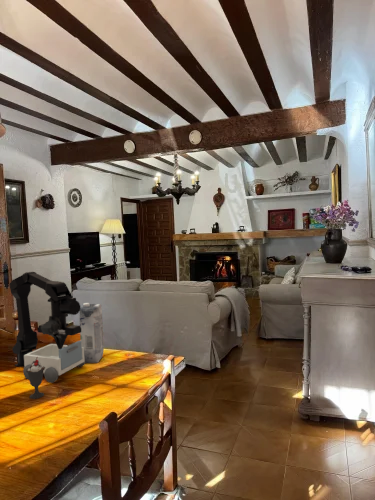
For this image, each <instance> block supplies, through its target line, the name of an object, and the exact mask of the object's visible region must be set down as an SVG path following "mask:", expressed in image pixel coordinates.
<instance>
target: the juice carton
mask: <svg viewBox="0 0 375 500" xmlns="http://www.w3.org/2000/svg"><path fill="white" fill-rule="evenodd" d="M82 305H83V306H82V307H80V311H79V326H80V327H81V332H80V333H79V335H80V338H79V339H80V341H81V346H82V347H84V357H85V364H98V363H99V362H100V360H101V359H102V358H103V355H104V330H103V329H104V326H103V311H102V310H103V309H102V303H90V302H84V303H83V304H82Z"/></svg>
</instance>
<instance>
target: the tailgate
mask: <svg viewBox="0 0 375 500" xmlns="http://www.w3.org/2000/svg"><path fill="white" fill-rule="evenodd" d="M59 358H61V370H62V369H64V368H66V367H68V366H70V365H72V364H74V363H76V362H78V361H79V360H81V359H82V346H81V340H77V341H76V342H73V343H71V344H69V345H68V346H66V347H64V348H62V349H60V350H59Z"/></svg>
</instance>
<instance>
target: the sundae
mask: <svg viewBox="0 0 375 500" xmlns="http://www.w3.org/2000/svg"><path fill="white" fill-rule="evenodd" d="M37 358H38V357H37ZM44 369H45V367H44V366H43V365H41V363H40V362H39V361H38V360H37V359H36V360H35V361H33V363H32V364H31V366H30V367H29V368H27V369H26V372H27V373H28V375H29V379H28V380H29V383H30V385H31V387H33V388H34V393H32V394H30V395H29V399H32V400H36V399H40V398H42V397H43V396H45V393H44V392H40V390H39V386H41V384H42V383H43V378H44V377H43V376H44V373H43V370H44Z"/></svg>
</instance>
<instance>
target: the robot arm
mask: <svg viewBox="0 0 375 500" xmlns="http://www.w3.org/2000/svg"><path fill="white" fill-rule="evenodd" d="M33 285H34V286H36V287H38V288H40V289H41V290H44V292H45V294H46V295H47V296H48V297H49V298H48V299H47V303H50V309H51V310H50V311H51V315H49V316H48V320H47V321H46V322H45V323H42V324H39V325H38V327H37V331H34V330H33V328H32V321H31V313H30V306H29V295H30V293H31V290H32V289H31V286H33ZM9 290H10V293H11V295H12V296H13V297H14V298H15V303H16V312H17V319H18V327H19V330H18V333H17V335H16V343H15V344H14V346H13V347H12V352H13V354H15V355H16V358H17V363H15V364H14V366H15V367H20V368H24V355H25V354H28V353H30V352H33V351H35V350H37V345H38V340H39V339H38V333H41V334H42V335H48V336H50V337H52V338H53V339H54V342H55V344H57V346H58V349H62V347H63V345H65V342H66V339H67V338H68V336H75V335H77V334H80V332H81V327H80V325H77V324H76V325H75V324H73V325H70V326H69V323H68V322H67V317H69V315H73V316H76V315H77V314H78V315H79V314H80V308H81V303H80V302H79V301H77V298H76V297H73V295H72V293H71V291H70V290H69V288H68V286H67V284H66V283H65V282H64V281H58V280H57V281H56V280H52V279H49V278H47V277H45V276H43V275H40V274H38V273H37V272H36V271H29V272H28V271H27V272H25V273H23V274H22V275H19V276H18V277H16V278H14V279H12V280H10V282H9Z"/></svg>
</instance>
